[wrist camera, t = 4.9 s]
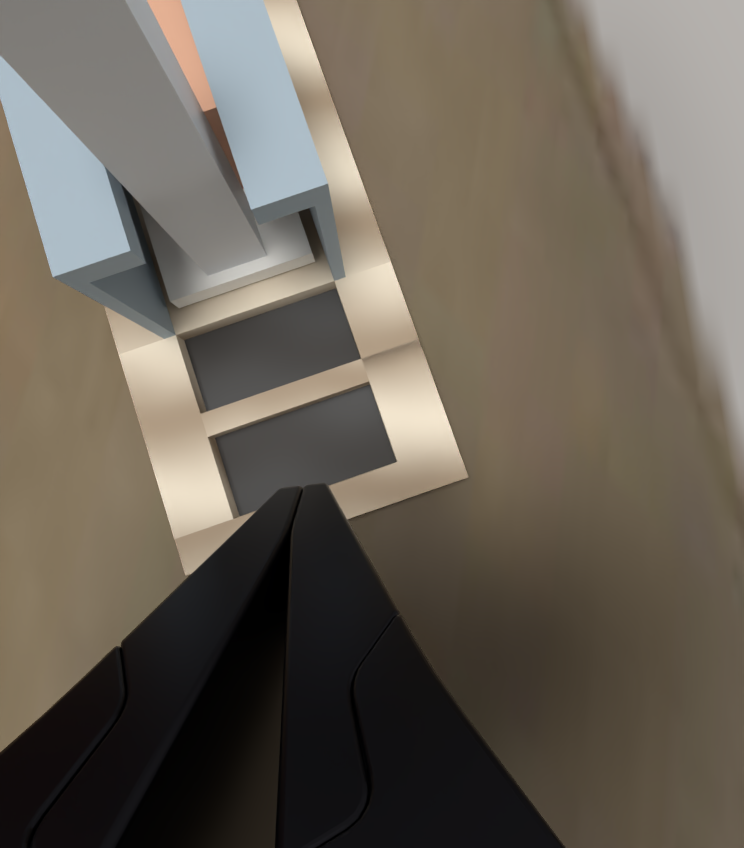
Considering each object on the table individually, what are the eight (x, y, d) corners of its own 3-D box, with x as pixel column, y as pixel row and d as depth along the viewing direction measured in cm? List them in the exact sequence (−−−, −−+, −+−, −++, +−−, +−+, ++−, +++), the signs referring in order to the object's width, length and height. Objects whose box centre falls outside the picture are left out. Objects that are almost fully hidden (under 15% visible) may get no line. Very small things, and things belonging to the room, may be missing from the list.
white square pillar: (315, 261, 18) (184, -137, 6) (179, 308, 18) (-233, 0, 6) (249, 72, 19) (14, -628, 7) (118, 116, 19) (-360, -509, 7)
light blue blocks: (345, 276, 18) (328, 183, 12) (164, 338, 18) (52, 277, 12) (268, 57, 19) (215, -136, 13) (94, 116, 19) (-43, -51, 13)
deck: (463, 476, 19) (468, 477, 18) (195, 569, 19) (185, 575, 18) (268, -67, 21) (262, -93, 20) (27, 14, 21) (9, -8, 20)
